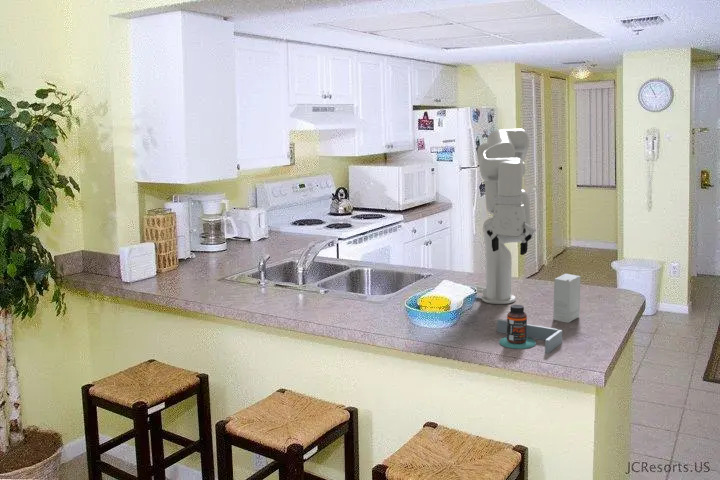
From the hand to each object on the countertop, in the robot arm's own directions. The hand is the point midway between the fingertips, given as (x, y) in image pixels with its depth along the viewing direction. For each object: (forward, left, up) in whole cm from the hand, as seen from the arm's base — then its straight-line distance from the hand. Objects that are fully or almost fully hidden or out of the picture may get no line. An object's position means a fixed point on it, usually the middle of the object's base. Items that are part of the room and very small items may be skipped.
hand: (509, 252), depth 223 cm
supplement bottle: (+8, -12, -25) cm, 29 cm away
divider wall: (+9, -11, -25) cm, 29 cm away
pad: (+9, -12, -25) cm, 30 cm away
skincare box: (+13, +19, -26) cm, 34 cm away
